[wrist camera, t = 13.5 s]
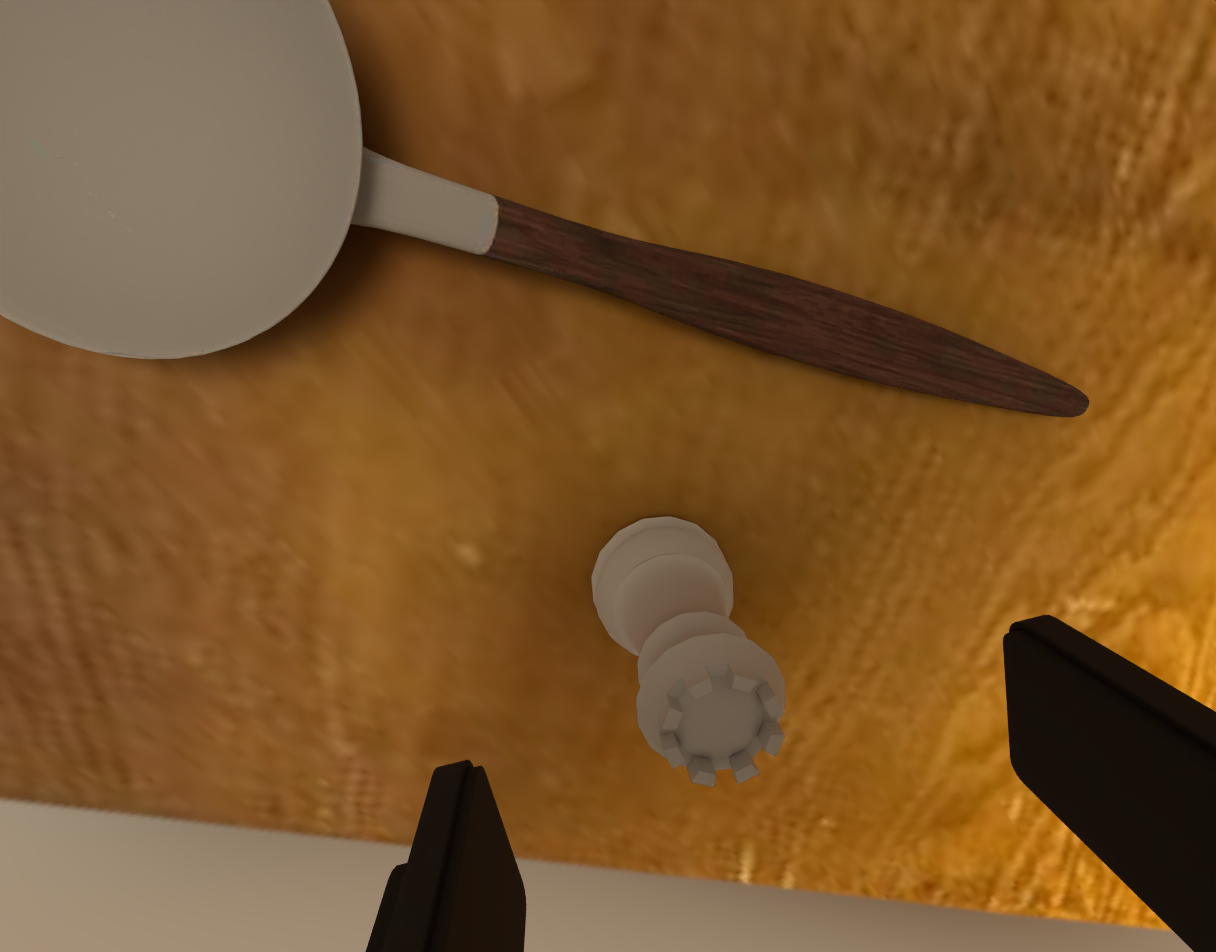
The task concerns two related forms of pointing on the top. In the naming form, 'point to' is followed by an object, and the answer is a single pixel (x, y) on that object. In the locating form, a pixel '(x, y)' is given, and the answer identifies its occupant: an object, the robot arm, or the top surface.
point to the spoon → (330, 205)
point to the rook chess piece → (688, 649)
